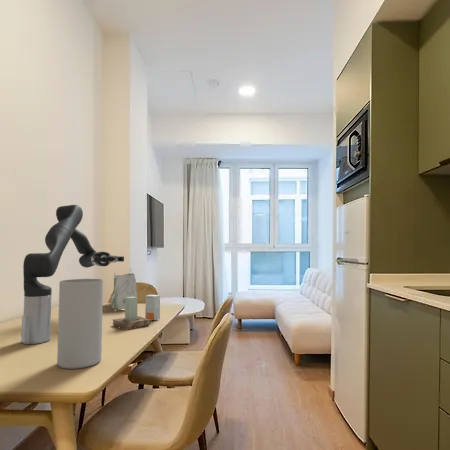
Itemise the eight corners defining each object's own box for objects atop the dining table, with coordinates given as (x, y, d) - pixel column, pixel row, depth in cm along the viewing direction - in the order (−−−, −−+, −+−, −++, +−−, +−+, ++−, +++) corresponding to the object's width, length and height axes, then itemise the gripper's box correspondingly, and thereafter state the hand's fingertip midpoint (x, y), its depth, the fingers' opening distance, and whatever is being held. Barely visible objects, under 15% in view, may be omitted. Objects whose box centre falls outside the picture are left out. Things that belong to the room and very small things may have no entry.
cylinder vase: (106, 356, 112) (108, 278, 114) (93, 369, 100) (95, 282, 102) (67, 356, 112) (69, 278, 114) (49, 370, 100) (52, 282, 101)
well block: (124, 330, 149) (125, 323, 149) (112, 325, 158) (113, 319, 158) (149, 325, 157) (149, 319, 157) (136, 321, 166) (136, 315, 166)
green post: (129, 325, 155) (129, 298, 156) (124, 323, 158) (125, 297, 159) (137, 323, 157) (137, 297, 158) (133, 322, 160) (133, 296, 161)
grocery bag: (110, 303, 225) (110, 267, 226) (132, 302, 230) (132, 267, 231) (112, 311, 195) (112, 270, 196) (137, 309, 200) (137, 269, 201)
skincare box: (144, 320, 170) (145, 295, 171) (150, 318, 174) (150, 294, 175) (154, 321, 167) (154, 296, 168) (160, 319, 171) (160, 295, 172)
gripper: (87, 251, 174) (100, 251, 162) (114, 251, 184) (128, 251, 172) (87, 266, 173) (100, 267, 161) (114, 265, 183) (128, 266, 171)
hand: (114, 259), depth 167 cm, fingers open, 8 cm apart
